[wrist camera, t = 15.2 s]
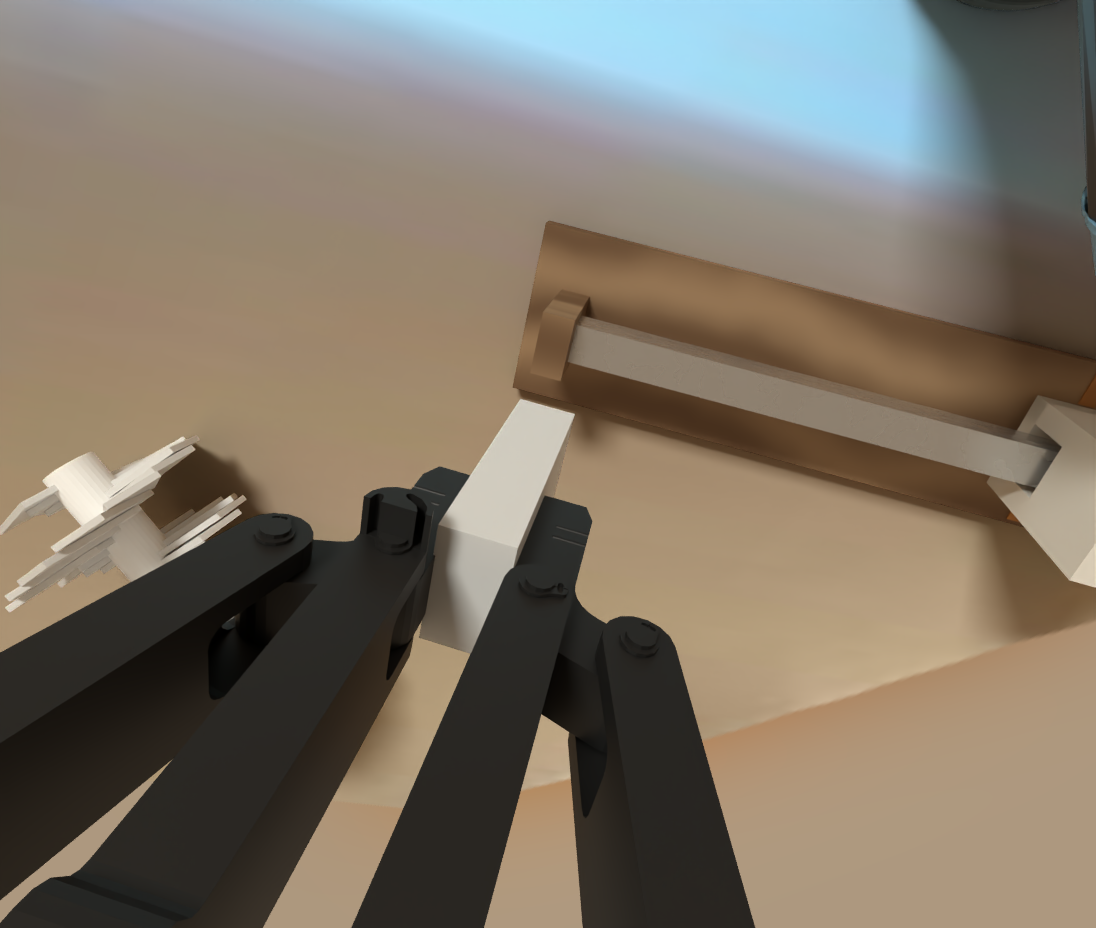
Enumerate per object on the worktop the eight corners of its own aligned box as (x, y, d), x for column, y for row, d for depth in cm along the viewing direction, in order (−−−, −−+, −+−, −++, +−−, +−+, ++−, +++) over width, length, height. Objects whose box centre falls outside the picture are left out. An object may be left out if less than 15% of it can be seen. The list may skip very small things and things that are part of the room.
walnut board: (549, 220, 47) (524, 236, 40) (1243, 397, 44) (1349, 448, 37) (516, 382, 53) (489, 421, 45) (1130, 549, 49) (1204, 619, 42)
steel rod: (568, 308, 46) (561, 318, 43) (1218, 479, 43) (1251, 501, 40) (559, 349, 47) (551, 361, 45) (1188, 517, 44) (1219, 541, 42)
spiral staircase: (203, 394, 63) (368, 603, 69) (38, 504, 62) (218, 706, 68) (112, 410, 45) (344, 690, 51) (-120, 564, 45) (141, 832, 50)
